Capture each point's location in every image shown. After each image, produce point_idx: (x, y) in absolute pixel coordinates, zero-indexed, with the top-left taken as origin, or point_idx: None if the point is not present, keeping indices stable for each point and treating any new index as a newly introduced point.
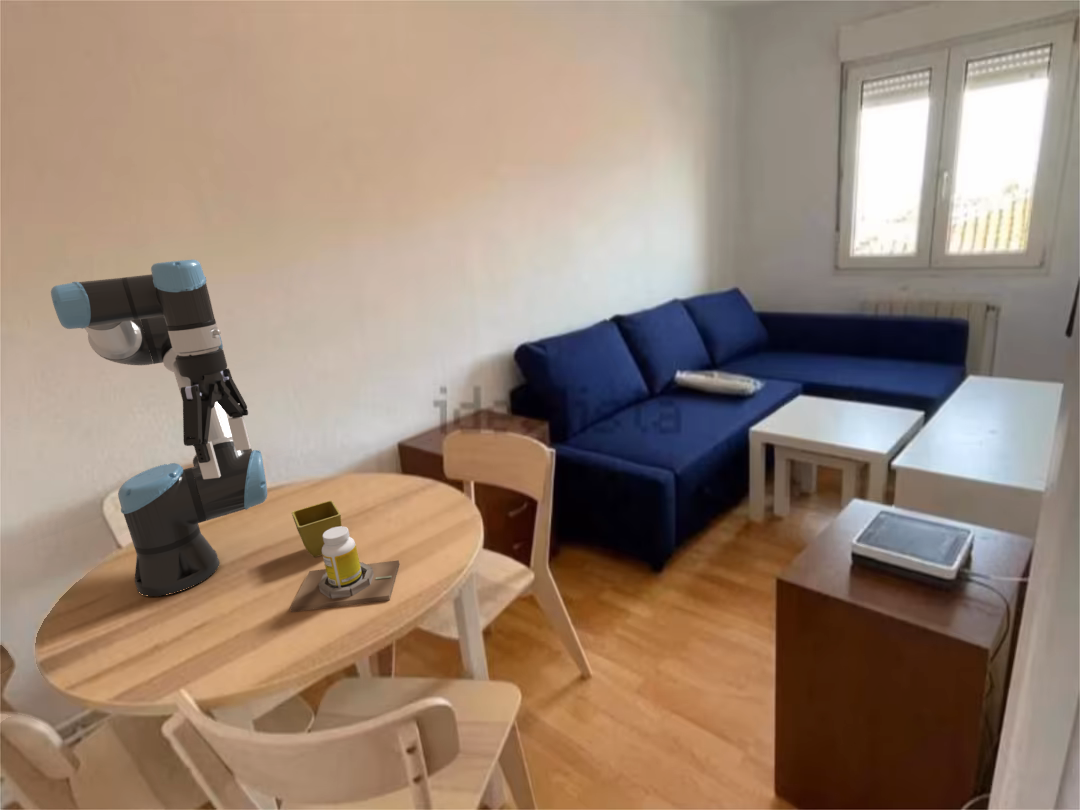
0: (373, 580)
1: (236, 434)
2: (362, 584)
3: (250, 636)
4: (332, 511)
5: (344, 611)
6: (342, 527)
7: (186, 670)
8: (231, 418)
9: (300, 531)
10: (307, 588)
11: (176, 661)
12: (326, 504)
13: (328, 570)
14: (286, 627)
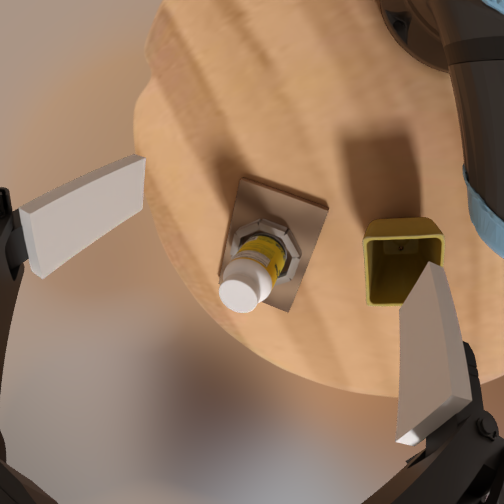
0: None
1: (425, 333)
2: None
3: (211, 129)
4: None
5: (218, 235)
6: (248, 308)
7: (177, 68)
8: (452, 409)
9: (364, 235)
10: (277, 203)
11: (197, 50)
12: None
13: (241, 248)
14: (213, 171)
